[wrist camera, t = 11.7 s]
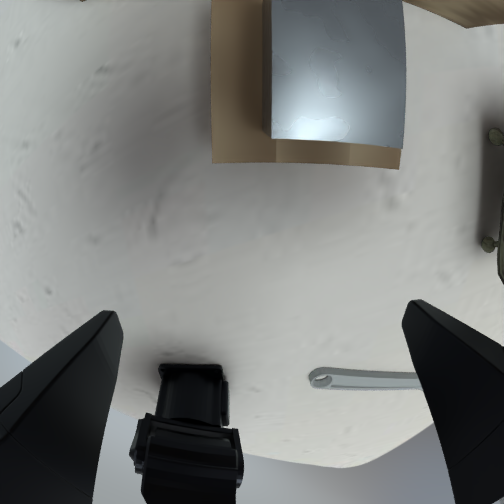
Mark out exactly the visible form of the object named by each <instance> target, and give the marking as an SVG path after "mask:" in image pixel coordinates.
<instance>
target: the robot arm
mask: <svg viewBox="0 0 504 504" xmlns="http://www.w3.org/2000/svg"><path fill="white" fill-rule="evenodd" d="M402 329H403V332H404V335H405V338H406V342H407V345H408V348H409V352H410V355H411V359H412V362H413V365H414V368H415V371H416V373H417V376H418V379H419V381H420V384H421V387H422V389H423V392H424V395H425V398H426V400H427V403H428V406H429V409H430V412H431V415H432V418H433V421H434V424H435V427H436V430H437V433H438V437H439V440H440V443H441V447H442V450H443V454H444V457H445V461H446V465H447V468H448V473H449V477H450V481H451V486H452V490H453V494H454V499H455V504H492V503H494V502H496V501H498V500H500V503H501V504H504V346H501V345H500V344H499V343H497V342H495V341H493V340H492V339H490V338H488V337H487V336H485V335H483V334H482V333H480V332H478V331H476V330H475V329H473V328H471V327H470V326H468V325H466V324H464V323H463V322H461V321H459V320H457V319H456V318H454V317H452V316H450V315H448V314H447V313H445V312H443V311H441V310H440V309H438V308H436V307H434V306H432V305H431V304H429V303H427V302H425V301H423V300H421V299H418V300H411V301H410V302H409V303H408V305H407V308H406V311H405V314H404V316H403V319H402ZM122 344H123V330H122V327H121V324H120V321H119V318H118V315H117V313H116V312H115V311H108V310H103V311H101V312H100V313H98V314H97V315H96V316H94V317H93V318H92V319H90V320H89V321H87V322H86V323H85V324H83V325H82V326H81V327H79V328H78V329H76V330H75V331H74V332H72V333H71V334H70V335H68V336H67V337H66V338H64V339H63V340H62V341H60V342H59V343H58V344H56V345H55V346H54V347H52V348H51V349H50V350H48V351H47V352H46V353H44V354H43V355H42V356H41V357H39V358H38V359H37V360H35V361H34V362H33V363H31V364H30V365H29V366H28V367H26V368H25V369H24V370H23V372H22V371H21V372H20V373H19V374H17V375H16V376H15V377H14V378H12V379H11V380H10V381H8V382H7V383H6V384H5V385H3V386H2V387H0V504H92V501H93V499H92V497H93V492H94V485H95V478H96V473H97V467H98V461H99V455H100V450H101V445H102V440H103V436H104V431H105V426H106V422H107V417H108V413H109V409H110V405H111V401H112V397H113V393H114V389H115V385H116V380H117V374H118V368H119V361H120V355H121V349H122ZM158 370H159V373H160V376H161V379H162V381H161V386H160V391H159V396H158V401H157V406H156V412H155V415H152V414H150V413H146V414H145V418H144V419H139V420H138V424H137V430H136V433H135V437H134V439H133V442H132V445H131V448H130V452H129V456H130V457H131V458H132V460H133V461H134V466H135V473H137V474H141V475H143V476H142V485H141V493H142V495H143V497H144V499H145V501H146V503H147V504H236V488H239V487H240V485H241V483H242V479H243V473H244V460H243V454H242V448H241V443H240V437H239V432H238V429H235V428H232V429H228V428H223V426H228V425H229V387H228V382H227V381H224V378H223V369H222V367H221V366H218V365H171V364H160V365H159V368H158Z"/></svg>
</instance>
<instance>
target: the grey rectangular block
mask: <svg viewBox="0 0 504 504" xmlns="http://www.w3.org/2000/svg"><path fill="white" fill-rule="evenodd" d="M405 103H406V46H405V28H404V16H403V5H402V0H263V3H262V131H263V132H264V133H265V134H266V135H268V136H269V137H270V138H271V139H301V140H320V141H335V142H347V143H358V144H367V145H376V146H384V147H392V148H399V149H402V148H403V137H404V123H405Z"/></svg>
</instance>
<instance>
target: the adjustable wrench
mask: <svg viewBox="0 0 504 504" xmlns="http://www.w3.org/2000/svg"><path fill="white" fill-rule="evenodd" d="M324 375H328V376H327V377H326V378H324V379H322V380H315V379H316V378H318V377H320V376H324ZM309 379H310V384H311V386H312V387H313V388H316V389H333V390H407V389H419V390H422V391H423V389H422V387H421V384H420V381H419V379H418V376H417V373H406V372H380V371H364V370H350V369H339V368H329V367H322V368H318V369H316V370H314V371H312V372H311V373H310V375H309Z"/></svg>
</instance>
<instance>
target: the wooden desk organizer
mask: <svg viewBox="0 0 504 504" xmlns="http://www.w3.org/2000/svg"><path fill="white" fill-rule="evenodd" d="M80 1H82V2H83V1H85V0H80ZM402 1H404V2H407V3H410V4H413V5H415V6H418V7H421V8H423V9H426V10H428V11H430V12H433V13H435V14H437V15H440V16H442V17H444V18H446V19H449V20H451V21H453V22H455V23H457V24H459V25H461V26H463V27H465V28H472V27H479V26H486V25H494V24H504V0H402ZM262 3H263V0H212V5H211V132H212V163H248V162H276V163H316V164H336V165H352V166H365V167H377V168H388V169H397V170H399V165H400V156H401V149H399V148H392V147H384V146H376V145H367V144H358V143H347V142H335V141H320V140H301V139H271V138H270V137H269V136H268V135H266V134H265V133H264V132H263V131H262Z"/></svg>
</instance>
